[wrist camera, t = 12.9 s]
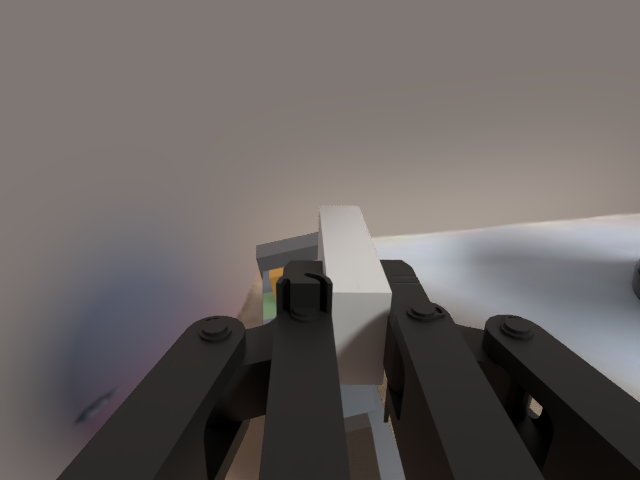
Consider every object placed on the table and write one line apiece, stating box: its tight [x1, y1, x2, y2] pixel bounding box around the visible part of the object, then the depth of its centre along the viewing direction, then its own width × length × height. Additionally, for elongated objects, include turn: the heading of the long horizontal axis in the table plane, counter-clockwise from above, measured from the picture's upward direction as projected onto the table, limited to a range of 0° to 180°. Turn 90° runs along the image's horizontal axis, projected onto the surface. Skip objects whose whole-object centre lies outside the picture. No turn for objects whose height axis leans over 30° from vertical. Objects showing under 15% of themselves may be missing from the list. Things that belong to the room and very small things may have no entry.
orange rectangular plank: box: [269, 260, 318, 301], centre depth 46 cm, size 2×6×3 cm, turn 98°
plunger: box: [344, 413, 381, 480], centre depth 37 cm, size 17×6×8 cm, turn 7°
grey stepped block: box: [256, 232, 405, 480], centre depth 44 cm, size 32×11×13 cm, turn 8°
